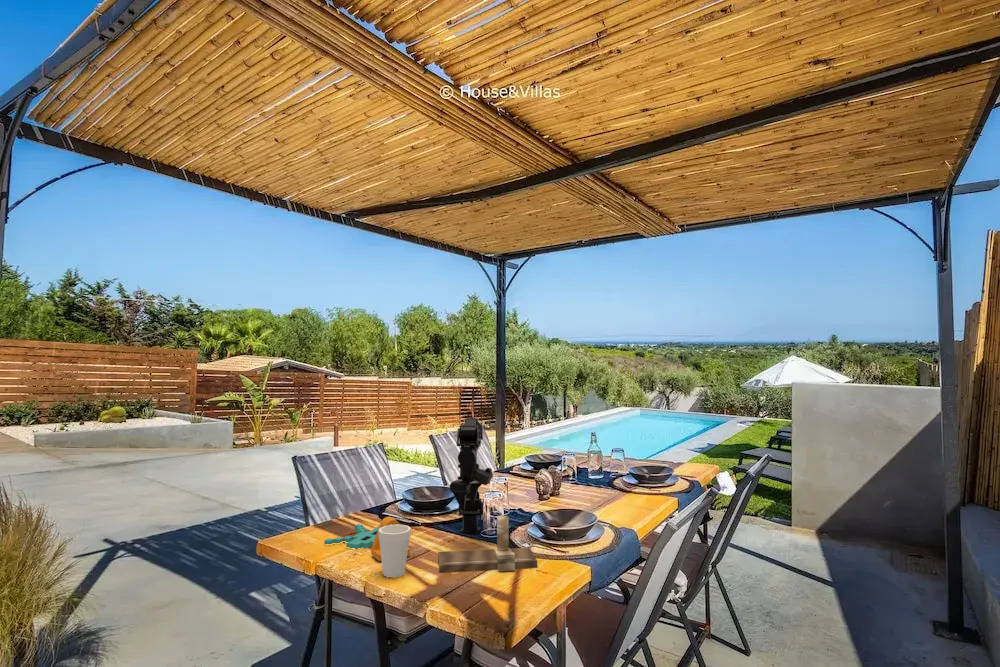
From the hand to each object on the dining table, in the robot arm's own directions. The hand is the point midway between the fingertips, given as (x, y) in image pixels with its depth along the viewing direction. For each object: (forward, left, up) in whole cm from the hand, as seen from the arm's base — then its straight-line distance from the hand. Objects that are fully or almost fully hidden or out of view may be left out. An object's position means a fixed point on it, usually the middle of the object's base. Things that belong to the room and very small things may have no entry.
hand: (467, 506), depth 185 cm
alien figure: (+7, -36, -14) cm, 39 cm away
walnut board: (+13, +12, -13) cm, 22 cm away
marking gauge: (+14, +18, -13) cm, 26 cm away
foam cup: (+31, -11, -13) cm, 35 cm away
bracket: (+19, -19, -13) cm, 30 cm away
